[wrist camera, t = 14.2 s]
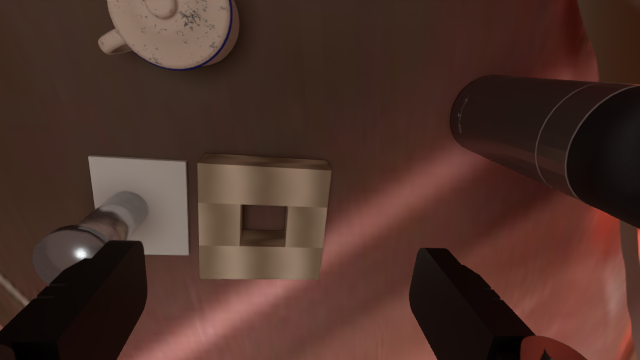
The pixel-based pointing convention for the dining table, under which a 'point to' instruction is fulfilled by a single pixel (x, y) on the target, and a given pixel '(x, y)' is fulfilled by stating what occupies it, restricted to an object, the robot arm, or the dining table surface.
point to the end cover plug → (89, 234)
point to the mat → (149, 198)
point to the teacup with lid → (173, 31)
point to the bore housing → (261, 189)
